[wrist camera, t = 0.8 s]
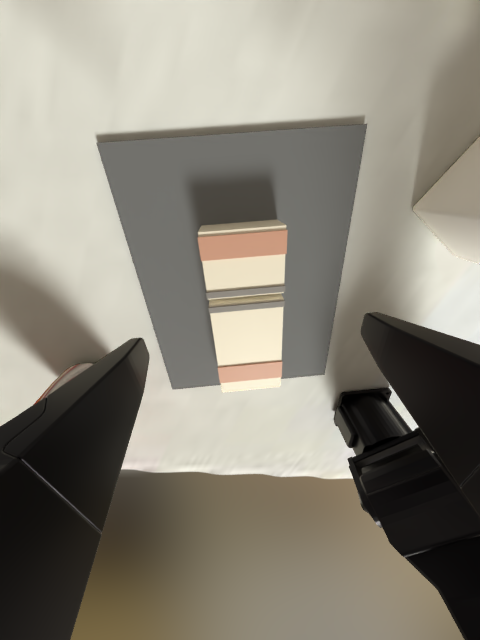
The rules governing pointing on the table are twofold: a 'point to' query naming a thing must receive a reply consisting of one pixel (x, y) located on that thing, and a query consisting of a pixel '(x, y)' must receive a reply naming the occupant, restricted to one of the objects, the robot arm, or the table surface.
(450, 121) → the table surface
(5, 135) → the table surface
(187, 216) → the mat
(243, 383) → the ticket
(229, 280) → the stub
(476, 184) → the medicine bottle
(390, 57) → the table surface
